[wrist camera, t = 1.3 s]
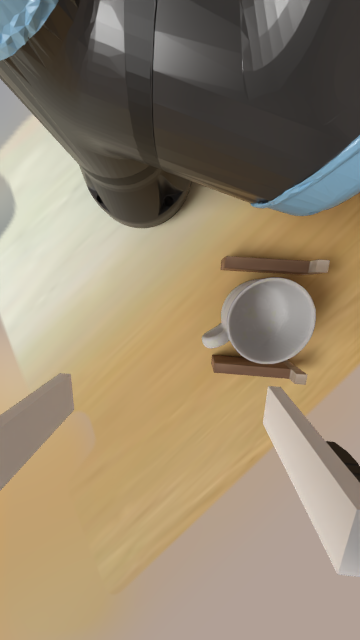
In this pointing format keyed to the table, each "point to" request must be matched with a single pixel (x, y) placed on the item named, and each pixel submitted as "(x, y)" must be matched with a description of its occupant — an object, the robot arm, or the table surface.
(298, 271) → the brown parallel rails
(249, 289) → the teacup
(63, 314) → the table surface
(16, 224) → the table surface
